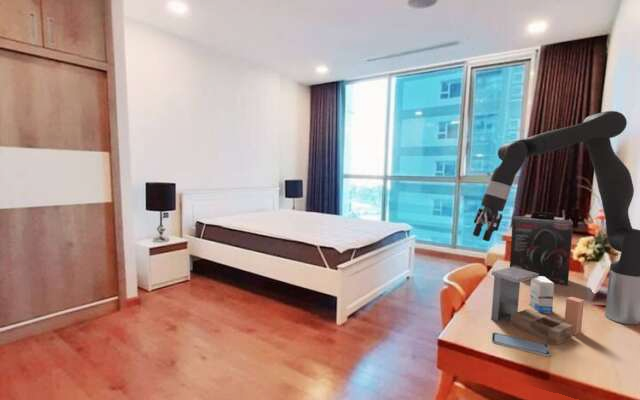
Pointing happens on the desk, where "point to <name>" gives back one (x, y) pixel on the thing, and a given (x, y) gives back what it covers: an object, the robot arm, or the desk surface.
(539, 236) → the headset box
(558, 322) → the socket block
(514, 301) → the panel
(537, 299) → the ink box
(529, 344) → the smartphone
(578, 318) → the peg
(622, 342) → the desk surface
